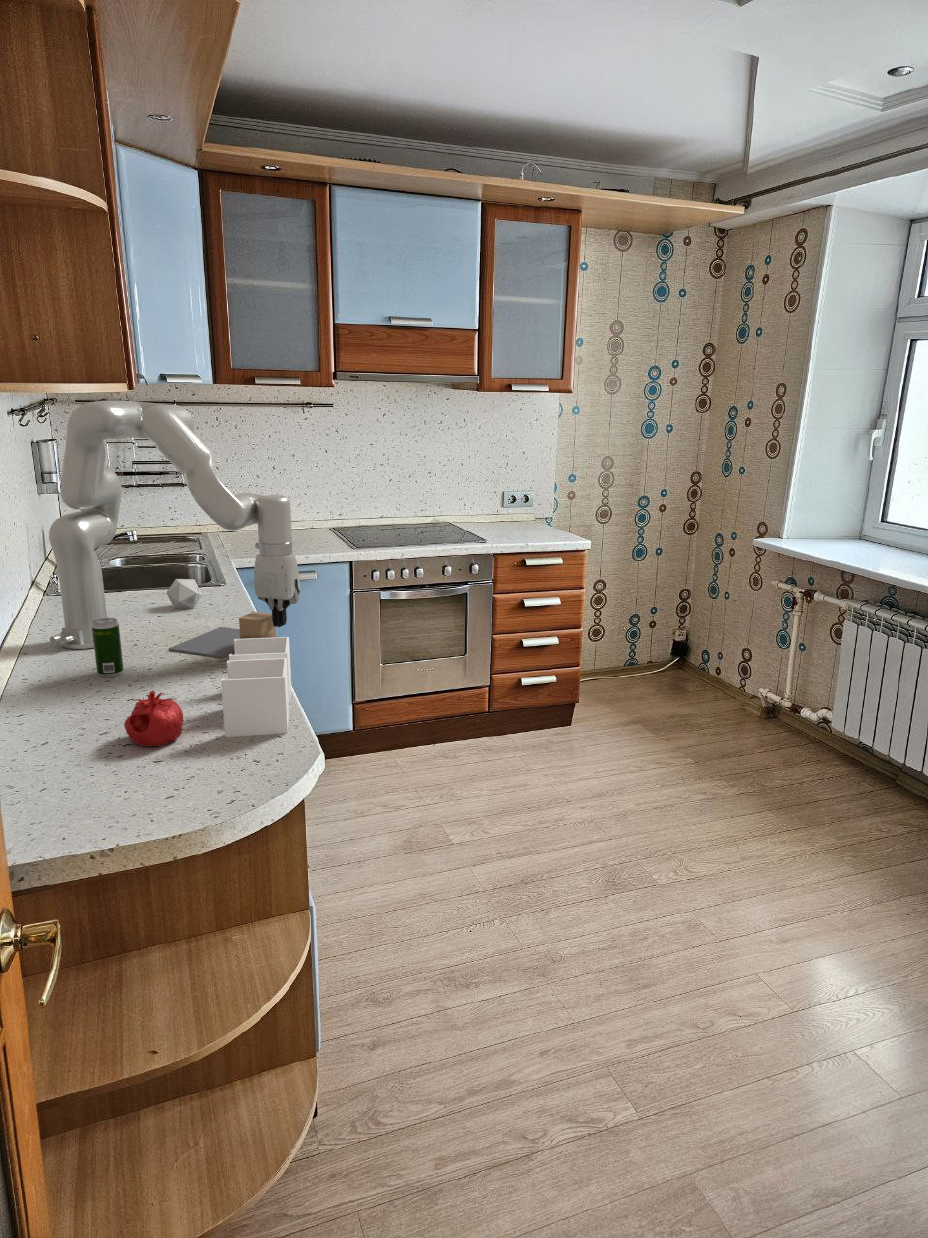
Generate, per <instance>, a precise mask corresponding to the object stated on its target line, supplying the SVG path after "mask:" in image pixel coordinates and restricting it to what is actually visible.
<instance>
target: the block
mask: <svg viewBox="0 0 928 1238" xmlns="http://www.w3.org/2000/svg"><path fill="white" fill-rule="evenodd" d="M238 623H239V624H238V626H239V629H240V639H250V638H275V637H277V631H276V627H274V626H273V621H272V613H267V612H258V611H252V612H250V613H248V614H245V615H242V616H240V617H239V618H238Z"/></svg>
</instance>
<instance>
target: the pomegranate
mask: <svg viewBox="0 0 928 1238" xmlns="http://www.w3.org/2000/svg"><path fill="white" fill-rule="evenodd" d="M162 695H165V693H164V692H160V693H158V694H157V695H156V691H155V690H151V691H150V692H149V693H148V694H146V695H145V696H146V697H147V698H145V699H141V698H137V699H134V700H133V699H131V702H133V701H134V702H135V701H136V703H135V706H134V707H133V709H132V711H131V714H130V716H128V717H127V718H126V719H125V721H124V723H123V726H124V727H123V728H124V730H125V732H126V734H127V735H128V738H129V740H131V741H132V742H134V743H135V744H137V745H139V746H143V747H162V746H165V745H166V744H168V743H171V742H174V741H176V740H178V738H180V736H181V735H182V732H183V725H184V724H183V722H184V713H183V711H182V709H181V707H180V704H178V703H177V702H176V701H175V700H177V699H178V697H176V698H173V697H169V698H160V697H161V696H162Z"/></svg>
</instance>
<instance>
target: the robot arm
mask: <svg viewBox="0 0 928 1238" xmlns="http://www.w3.org/2000/svg"><path fill="white" fill-rule="evenodd" d="M194 431H195V420H194V417H193V416H192V414H191V413H190V412H189V411H188V410H187V409H186V408H184V407H183V406H180V405H178V404H165V403H156V402H155V403H154V402H146V401H145V402H144V401H136V400H99V401H98V400H96V401H90V402H87V403H84V404H81V405H80V406H78V407H76V408H75V409H74V410H73V411H72V413H71V414H70V415H69V418H68V421H67V425H66V433H65V434H66V437H65V448H64V449H65V451H64V456H63V461H62V462H63V464H62V471H61V478H60V479H61V480H60V498H61V500H62V502H63V503H64V504H65V505H66V506H67V507H68V508H70V509H74V510H80V511H75V512H71V513H67V514H64V515H61V516H60V517H57V518H56V519H55V520H54V521H53V522H52V524H51V525H50V527H49V530H48V540H49V544H50V548H51V550H52V552H53V556H54V560H55V563H56V569H57V576H58V583H59V589H60V590H59V592H60V598H61V605H62V613H63V621H64V627H61V632H60V633H59V634H55V635H52V636H50V637H49V642H50V643H51V644H52V645H56V644H59V645H60V646H61V647H62V648H66V649H71V650H84V649H85V650H86V649H94V643H93V634H92V625H93V624H92V622H93V621H94V620H96V619H101V618H108V614H107V606H106V598H105V597H106V595H105V587H104V579H103V572H102V571H103V570H102V565H101V563H100V561H99V559H98V556H97V554H96V551H95V549H99V548H101V547H105V546H106V545H108V544H109V543H111V541H113V539H114V537H115V535H116V532H117V529H118V523H119V522H118V521H119V516H120V515H119V514H120V508H121V502H122V501H121V500H122V484H121V480H120V478H119V476H118V474H117V473H116V472H115V471H114V470H113V469H111V468H110V467H107V466H105V462H106V458H107V457H106V455H107V454H106V447H105V444H104V443H105V442H104V441H106V440H107V441H108V440H119V439H120V440H122V439H132V438H133V439H147V440H148V441H150V442H151V443H152V444H153V445H154V447H155V448H156V449H157V450H158V451H159V452H160V453H161V454H162V455H163V456H164V457H165V458H166V459H167V460H168V461H169V462H170V464H172V465H173V467H174V468H175V469H176V471H178V472H179V473H180V474H181V475H182V477H183V478H184V480H185V483H186V486H187V488H188V490H189V492H190V494H191V496H192V497H193V499H194V501H195V502H196V503H197V505H198V506H199V507H200V508H201V510H203V511H204V513H205V514H206V515H207V516H208V517H209V518H210V519H211V520H212V521H213V522H215V524H217V525H218V526H220V528H223V529H224V530H227V531H232V532H233V531H239V530H241V529H244V528H246V527H249V526H252V525H257V534H258V535H257V536H258V537H257V538H258V542H255V545H254V547H255V549H258V553H259V554H256V556H255V561H254V570H253V571H254V572H253V591H254V592H253V593H254V595H255V596H256V597H257V599H258V600H260V601H262V602H265V603H266V604H267V606H268V608H269V610H270V611H271V614H272V621H273V626H274V627H275V628H276V627H277V628H282V627H283V626H285V625H287V621H288V619H287V618H288V617H287V609H288V608H289V607H290V606H291V605H295V604H298V603H300V597H299V595H300V593H301V584H300V583H301V582H300V581H301V580H300V574H299V568H298V566H299V565H298V563H297V562H298V561H297V558H296V555H295V554H293V553H294V552H293V536H292V534H293V533H292V514H291V513H292V512H291V510H292V509H291V502H290V499H289V497H288V496H285V495H281V494H268V495H263V494H257V493H251V492H242V493H238V494H236V493H235V494H232V493H231V492H230V490H229V489H227V488H226V487H225V486H224V484H223V483H222V482H221V480H220V479H219V478H218V476H217V475H216V473H215V471H214V468H213V467H214V466H213V462H214V461H213V459H214V453H213V452H212V450H211V449H210V448H209V447H208V446H207V445H206V443H204V442H203V440H202V439H201V438H199V436H198V435H197V434H196V433H195V432H194Z"/></svg>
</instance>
